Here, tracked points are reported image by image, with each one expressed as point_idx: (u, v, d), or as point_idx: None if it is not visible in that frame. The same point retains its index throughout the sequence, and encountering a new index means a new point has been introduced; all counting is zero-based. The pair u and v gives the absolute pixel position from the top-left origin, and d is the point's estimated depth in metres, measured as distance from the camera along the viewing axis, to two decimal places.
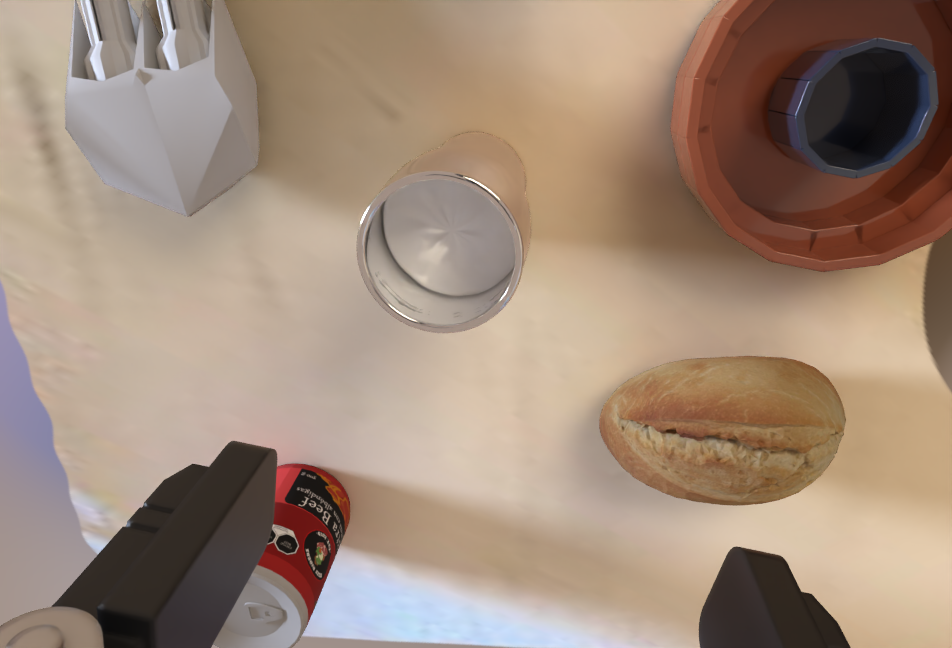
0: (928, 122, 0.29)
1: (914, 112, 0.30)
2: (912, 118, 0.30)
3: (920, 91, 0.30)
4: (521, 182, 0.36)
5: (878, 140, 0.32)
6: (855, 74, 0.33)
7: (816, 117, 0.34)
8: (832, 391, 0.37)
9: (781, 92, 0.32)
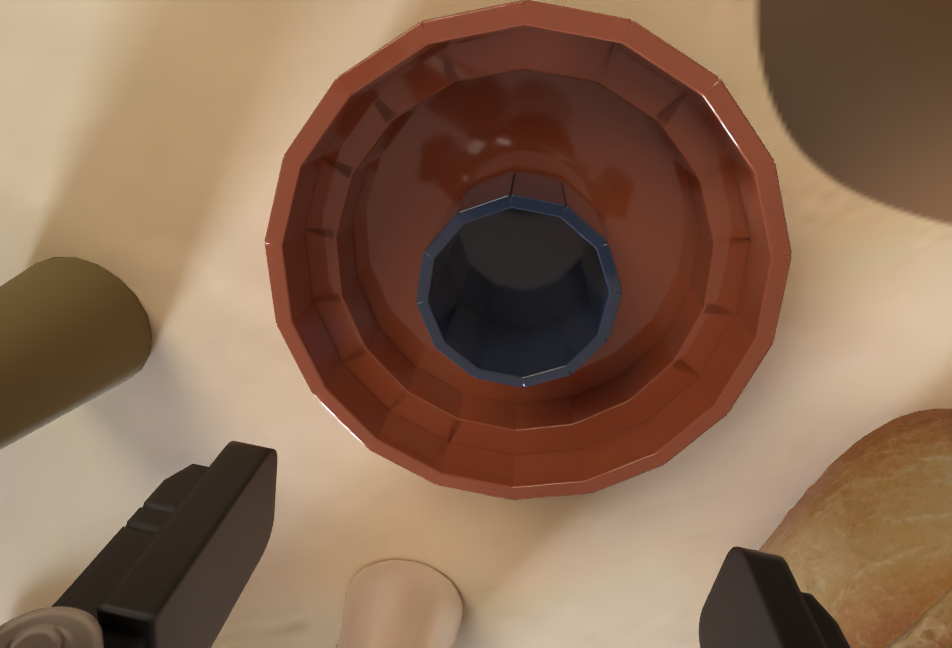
0: (583, 226, 0.18)
1: None
2: None
3: None
4: (418, 589, 0.29)
5: None
6: (498, 215, 0.22)
7: (527, 278, 0.23)
8: (948, 454, 0.21)
9: None
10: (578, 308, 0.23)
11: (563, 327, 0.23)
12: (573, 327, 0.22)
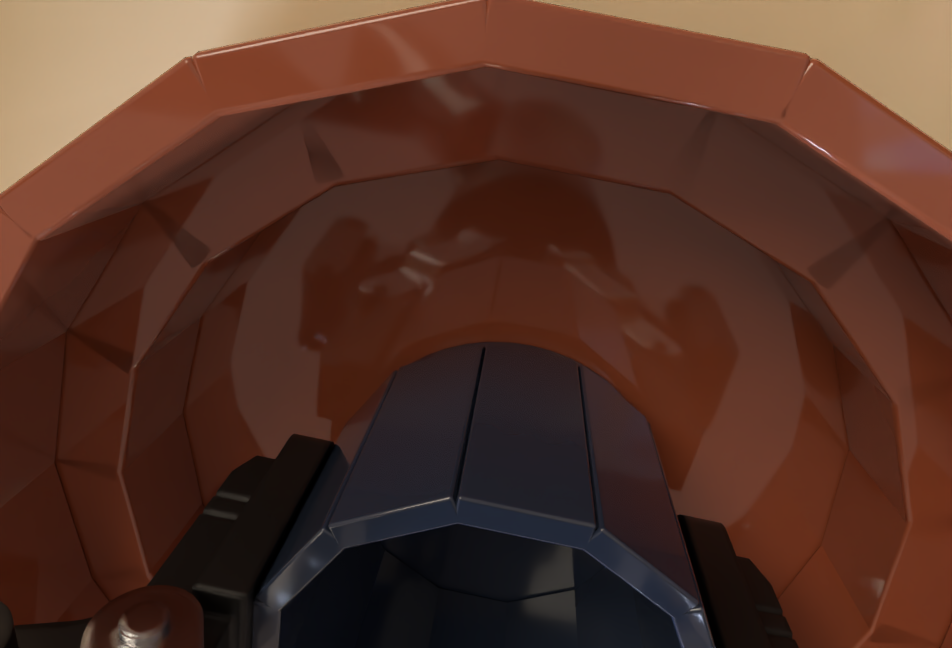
0: (642, 572, 0.07)
1: None
2: None
3: None
4: None
5: None
6: None
7: None
8: None
9: None
10: (609, 598, 0.12)
11: (580, 635, 0.12)
12: None
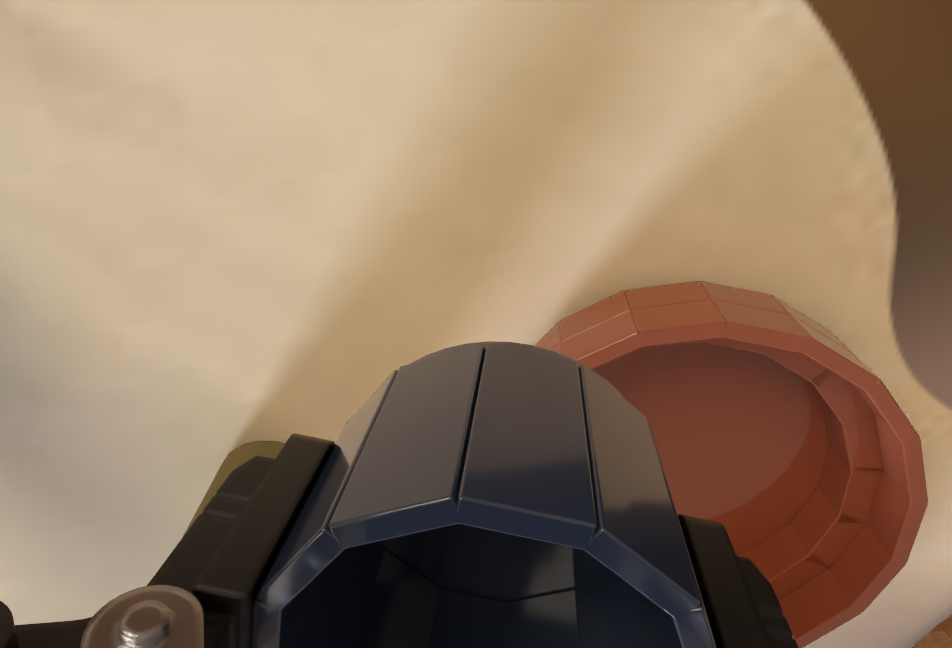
0: (643, 572, 0.07)
1: None
2: None
3: None
4: None
5: None
6: None
7: None
8: None
9: None
10: (610, 598, 0.12)
11: (580, 635, 0.12)
12: None
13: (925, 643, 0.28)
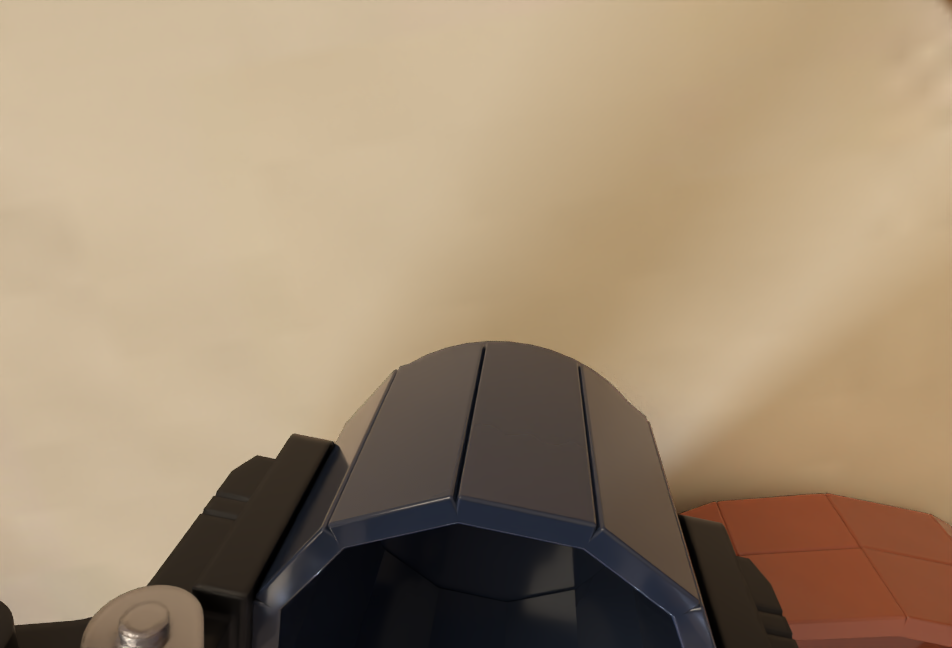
0: (642, 571, 0.07)
1: None
2: None
3: None
4: None
5: None
6: None
7: None
8: None
9: None
10: (609, 597, 0.12)
11: (580, 634, 0.12)
12: None
13: None
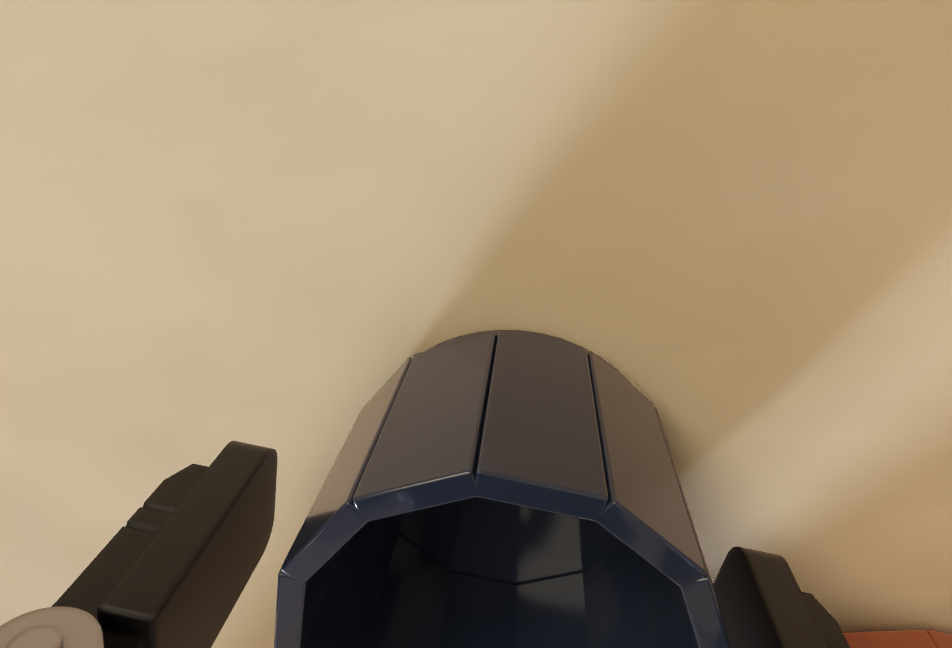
0: (652, 542, 0.07)
1: None
2: None
3: None
4: None
5: None
6: None
7: (520, 510, 0.13)
8: None
9: None
10: (617, 579, 0.12)
11: (588, 615, 0.12)
12: (610, 637, 0.11)
13: None
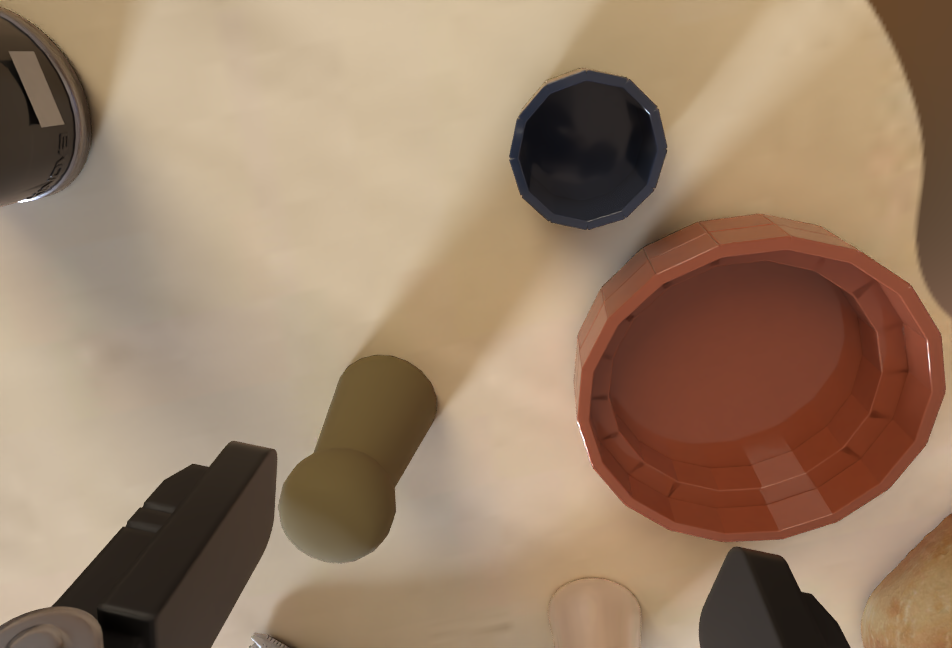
0: (640, 95, 0.24)
1: (626, 93, 0.25)
2: (631, 98, 0.25)
3: None
4: (616, 601, 0.39)
5: (643, 122, 0.27)
6: (566, 105, 0.29)
7: (586, 158, 0.29)
8: None
9: None
10: (627, 180, 0.29)
11: (615, 195, 0.29)
12: (624, 190, 0.28)
13: (937, 529, 0.34)
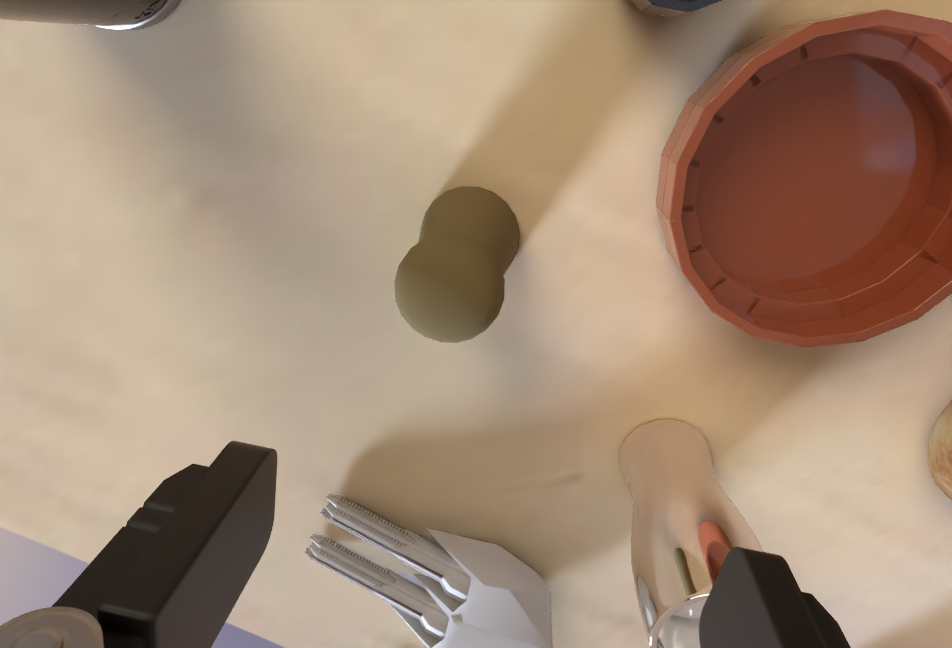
0: None
1: None
2: None
3: None
4: (689, 436, 0.40)
5: None
6: None
7: None
8: None
9: None
10: None
11: None
12: None
13: None
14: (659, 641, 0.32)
